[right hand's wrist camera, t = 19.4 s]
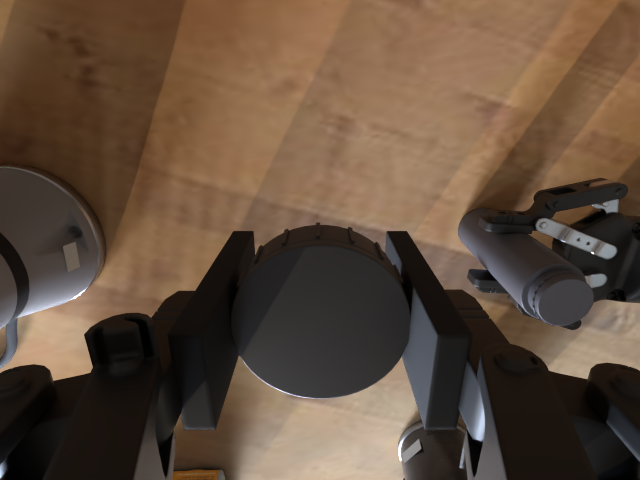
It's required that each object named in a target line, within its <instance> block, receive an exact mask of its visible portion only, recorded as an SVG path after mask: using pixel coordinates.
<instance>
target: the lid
mask: <svg viewBox="0 0 640 480" xmlns="http://www.w3.org/2000/svg"><path fill="white" fill-rule="evenodd" d="M402 284H404V282H403V280H402V277H401V275H400V273H399V271H398V269H397V266H396V264H394V265H392V263H391V261H390V260H389V258H388V257H387V256H386V254H385V253H384V252H383V251H382V250H381V248H380V245H379V243H377V242H376V243H373V242H372V241H371V240H369V239H368V238H366V237H364V236H363V235H361V234H359V233H357V232H354V231H353V230H352V228H350V227H348V229H345V228H342V227H338V226H330V225H320V223H316V225H312V226H304V227H300V228H296V229H293V230H290V231H289V230H288V229H286V230H285V231H284V233H283V234H281V235H279V236H277V237H275V238H274V239H272V240H271V241H269V242H268V243H267V244H265V245H264V246H262V245H261V246H259V248H258V251H257V253H256V255H255V256H254V257H253V259H252V260H251V262H250V264H249V265H248V267H247V269H245V268H244V269H243V272H242V274H241V276H240V278H239V281H238V283H237V285H236V288H237V289H238V291H237V293H236V296H235V298H234V301H233V304H232V309H231V316H230V326H231V334H232V338H233V342H234V345H235V347H236V350H237V352H238V354H239V355H240V357H241V359H242V361H243V362H244V363H245V364H246V366H247V367H248V368H249V369H250V370H251V371H252V372H253V373H254V374H255V375H256V376H257V377H258V378H260V379H261V380H262V381H264V382H265V383H267V384H268V385H270V386H272V387H273V388H276V389H278V390H280V391H282V392H285V393H288V394H291V395H295V396H299V397H304V398H314V399H327V398H337V397H342V396H347V395H350V394H353V393H356V392H359V391H361V390H363V389H366V388H368V387H369V386H371V385H373V384H375V383H376V382H378V381H379V380H380V379H382V378H383V377H384V376H385V375H387V374H388V373H389V372H390V371H391V370H392V369H393V367H394V366H395V365H396V364H397V362H398V361H399V360H400V358H401V356H402V355H403V353H404V351H405V348H406V346H407V344H408V339H409V330H410V320H411V310H410V305H409V302H408V299H407V296H406V293H405V291H404V289H403V287H402Z"/></svg>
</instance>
